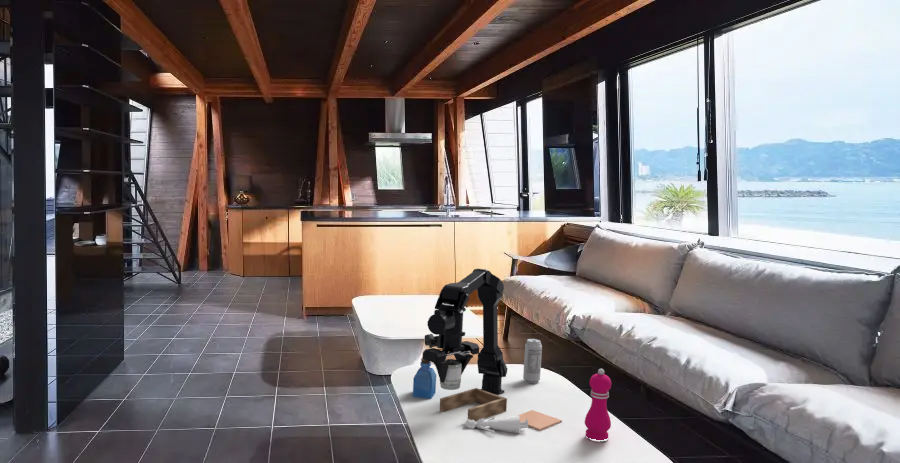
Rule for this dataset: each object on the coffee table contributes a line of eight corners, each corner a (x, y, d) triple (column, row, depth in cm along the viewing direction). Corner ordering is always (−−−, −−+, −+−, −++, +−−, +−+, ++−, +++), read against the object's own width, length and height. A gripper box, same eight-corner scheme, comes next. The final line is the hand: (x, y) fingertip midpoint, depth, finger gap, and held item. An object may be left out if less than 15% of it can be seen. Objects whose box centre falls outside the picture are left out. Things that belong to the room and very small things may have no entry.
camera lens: (462, 385, 194) (463, 359, 194) (457, 391, 188) (459, 364, 187) (442, 382, 196) (443, 357, 195) (436, 388, 189) (438, 362, 189)
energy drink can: (538, 379, 237) (540, 338, 236) (541, 384, 231) (543, 342, 230) (521, 378, 237) (524, 338, 236) (524, 383, 231) (526, 342, 230)
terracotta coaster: (532, 411, 203) (532, 410, 202) (561, 422, 195) (561, 420, 195) (510, 419, 195) (510, 418, 195) (539, 430, 187) (540, 428, 187)
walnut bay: (475, 400, 211) (476, 388, 211) (506, 411, 202) (507, 398, 202) (439, 411, 199) (440, 398, 199) (470, 423, 190) (471, 410, 190)
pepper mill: (580, 432, 187) (585, 364, 186) (605, 433, 188) (609, 365, 186) (588, 443, 180) (592, 372, 178) (613, 443, 181) (618, 372, 179)
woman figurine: (529, 424, 180) (464, 423, 182) (529, 439, 181) (464, 439, 182) (526, 409, 192) (465, 409, 193) (527, 424, 192) (466, 423, 193)
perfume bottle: (431, 398, 210) (433, 362, 209) (412, 396, 211) (414, 360, 211) (435, 393, 216) (437, 357, 215) (417, 390, 217) (419, 355, 217)
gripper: (454, 319, 203) (452, 368, 204) (410, 327, 189) (408, 379, 191) (481, 326, 195) (479, 377, 196) (437, 334, 182) (435, 389, 183)
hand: (450, 380), depth 192 cm, fingers closed on camera lens, 6 cm apart
